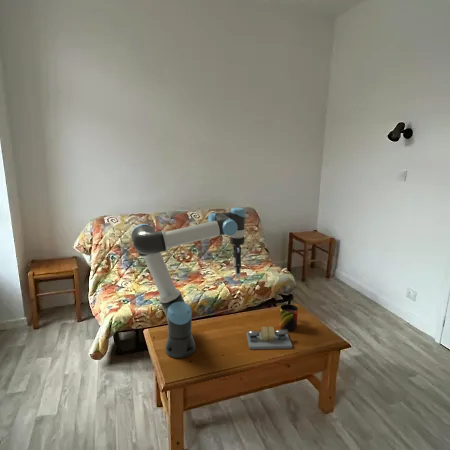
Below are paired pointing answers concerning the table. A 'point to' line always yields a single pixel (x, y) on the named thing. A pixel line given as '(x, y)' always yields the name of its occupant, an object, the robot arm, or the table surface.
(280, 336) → the shaft right
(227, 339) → the table surface
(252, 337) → the shaft left
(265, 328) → the tan rectangular block
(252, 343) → the base plate
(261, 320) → the table surface
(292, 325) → the patterned mug
